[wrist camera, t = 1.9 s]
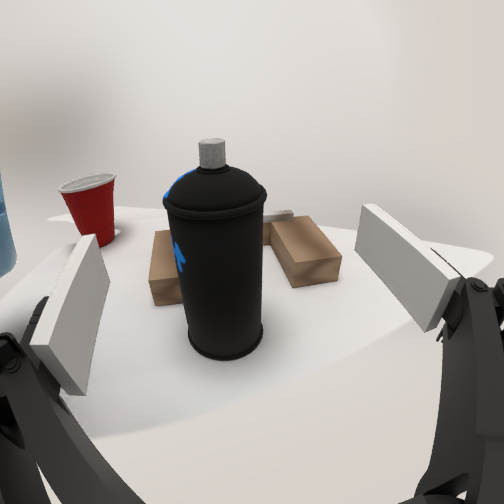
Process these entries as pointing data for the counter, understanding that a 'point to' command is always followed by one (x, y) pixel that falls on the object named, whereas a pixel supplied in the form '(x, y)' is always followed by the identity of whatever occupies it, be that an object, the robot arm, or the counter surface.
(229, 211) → the aerosol can
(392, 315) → the counter surface
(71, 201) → the plastic cup
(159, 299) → the cutout stand
